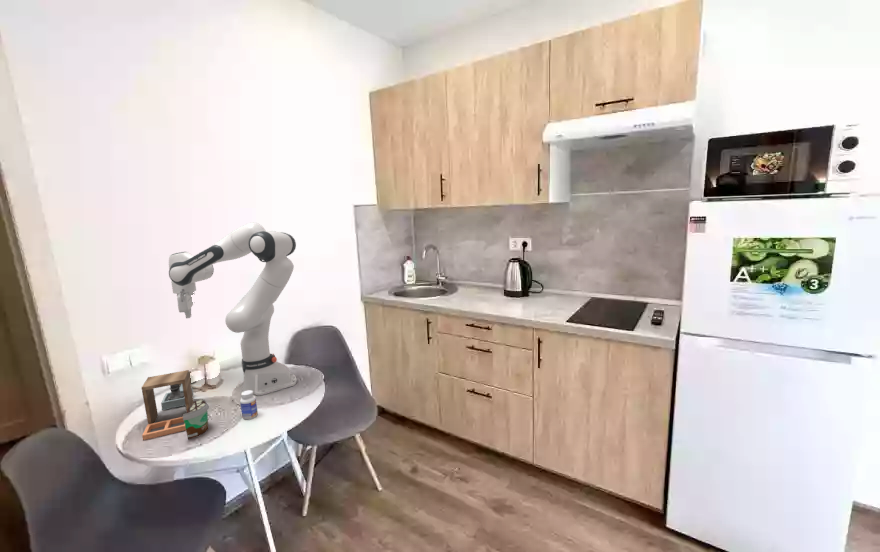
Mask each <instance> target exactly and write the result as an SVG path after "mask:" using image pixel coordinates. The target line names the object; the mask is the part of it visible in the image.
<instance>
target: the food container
mask: <svg viewBox="0 0 880 552" xmlns="http://www.w3.org/2000/svg"><path fill="white" fill-rule="evenodd" d="M193 401H194V402H193V404H192V405H191V406H190V407H189V409H188V411H186V413H183V414H182V417H183V420H184V423H185V428H186V431H185V432H186V436H187V439H188V440H192V439H195V438H198V437H200V436H202V435H204V434H205V433H206V432H207V431H208V430H209V417H208V416H209V414H208V410H209V409H210V406H209V403H208V402H207V400H206V399H204V398H193Z"/></svg>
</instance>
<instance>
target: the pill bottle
mask: <svg viewBox="0 0 880 552" xmlns="http://www.w3.org/2000/svg"><path fill="white" fill-rule="evenodd" d="M240 397H241V398H240V400H239V404H240V405H239V406H240V410H241V411H240V412H241V417H242V419H243V420H251V419H254V418H256V417H257V416H258V404H257V398H256V395H254V394H253V391H252V390H247V391H244V392H243V391H242V392H241V393H240Z"/></svg>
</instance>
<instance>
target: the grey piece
mask: <svg viewBox="0 0 880 552" xmlns="http://www.w3.org/2000/svg"><path fill="white" fill-rule="evenodd" d="M190 373H191V371H189V376H190ZM190 382H191V378H190ZM179 386H180V387H179V388H180V392H181V393H184V392H183V386H182V383H180V384H179ZM191 388H192V395H193V396H194V395H195V394H194V388H193V387H191ZM169 396H171V391H170V392H166V393H165V394H164V396H163V399H162V400H161V403H160V404H161V410H162V411H163V410H164V411H165V410H169V409H174V408H178V407H182V406H183V407H184V406H186V405H185V398H180V399H175V400H170V401H169V400H168V397H169Z"/></svg>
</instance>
